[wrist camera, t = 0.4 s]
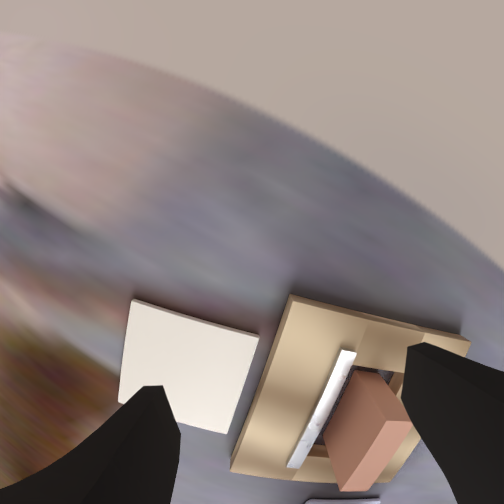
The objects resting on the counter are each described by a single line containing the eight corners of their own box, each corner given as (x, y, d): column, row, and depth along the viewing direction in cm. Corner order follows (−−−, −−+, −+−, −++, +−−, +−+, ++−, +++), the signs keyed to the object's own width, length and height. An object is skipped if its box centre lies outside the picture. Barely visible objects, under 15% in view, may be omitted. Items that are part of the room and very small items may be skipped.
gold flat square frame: (384, 471, 21) (391, 485, 19) (230, 458, 20) (229, 476, 18) (460, 335, 19) (475, 344, 17) (289, 293, 19) (294, 303, 17)
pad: (226, 430, 20) (226, 434, 19) (120, 398, 20) (118, 401, 19) (258, 334, 19) (259, 338, 18) (134, 298, 18) (131, 300, 18)
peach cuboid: (345, 437, 20) (367, 490, 14) (322, 435, 20) (339, 491, 14) (378, 373, 20) (415, 421, 14) (354, 369, 19) (386, 420, 14)
